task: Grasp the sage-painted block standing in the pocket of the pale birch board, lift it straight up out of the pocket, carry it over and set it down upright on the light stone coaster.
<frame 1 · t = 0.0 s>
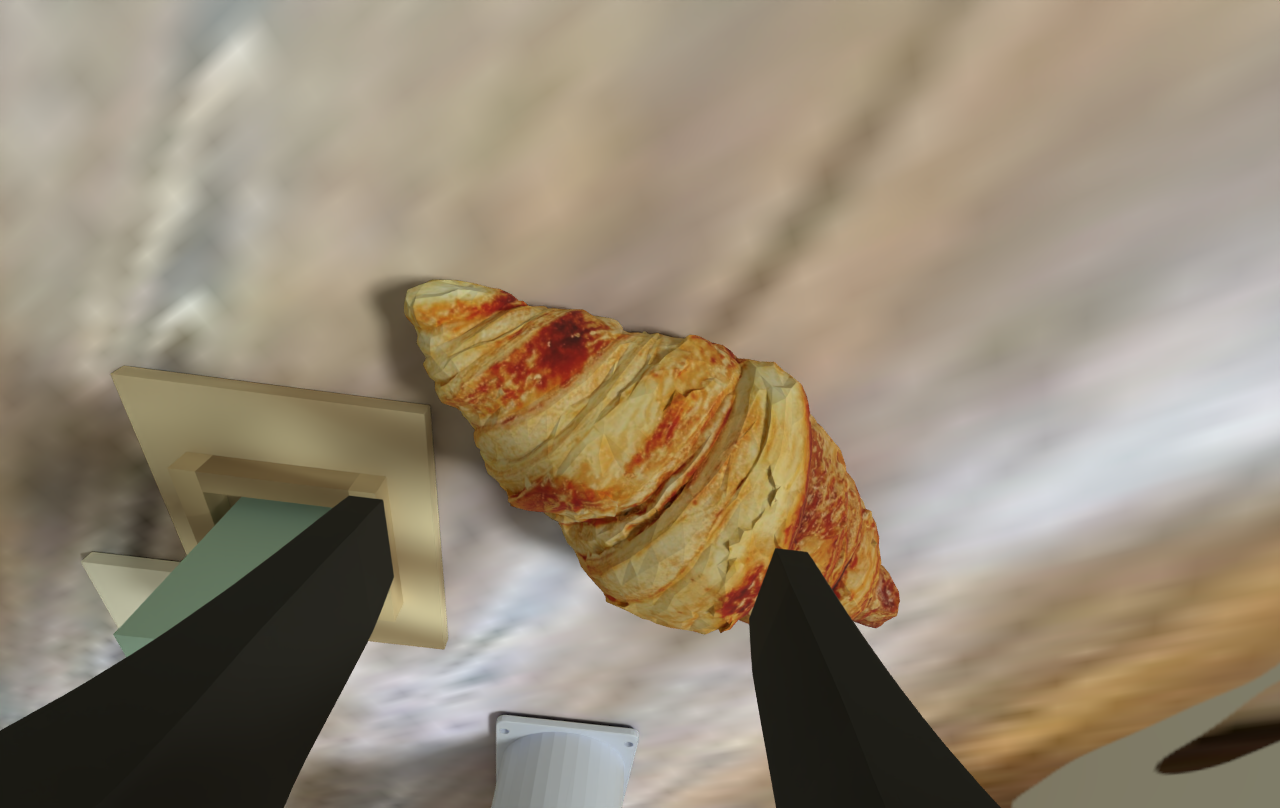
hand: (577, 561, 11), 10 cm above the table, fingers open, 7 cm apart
block: (304, 534, 24), point 1 cm above the table, touching pocket board
coaster: (205, 617, 28), on the table
croissant: (682, 431, 22), on the table
pocket board: (312, 524, 25), on the table
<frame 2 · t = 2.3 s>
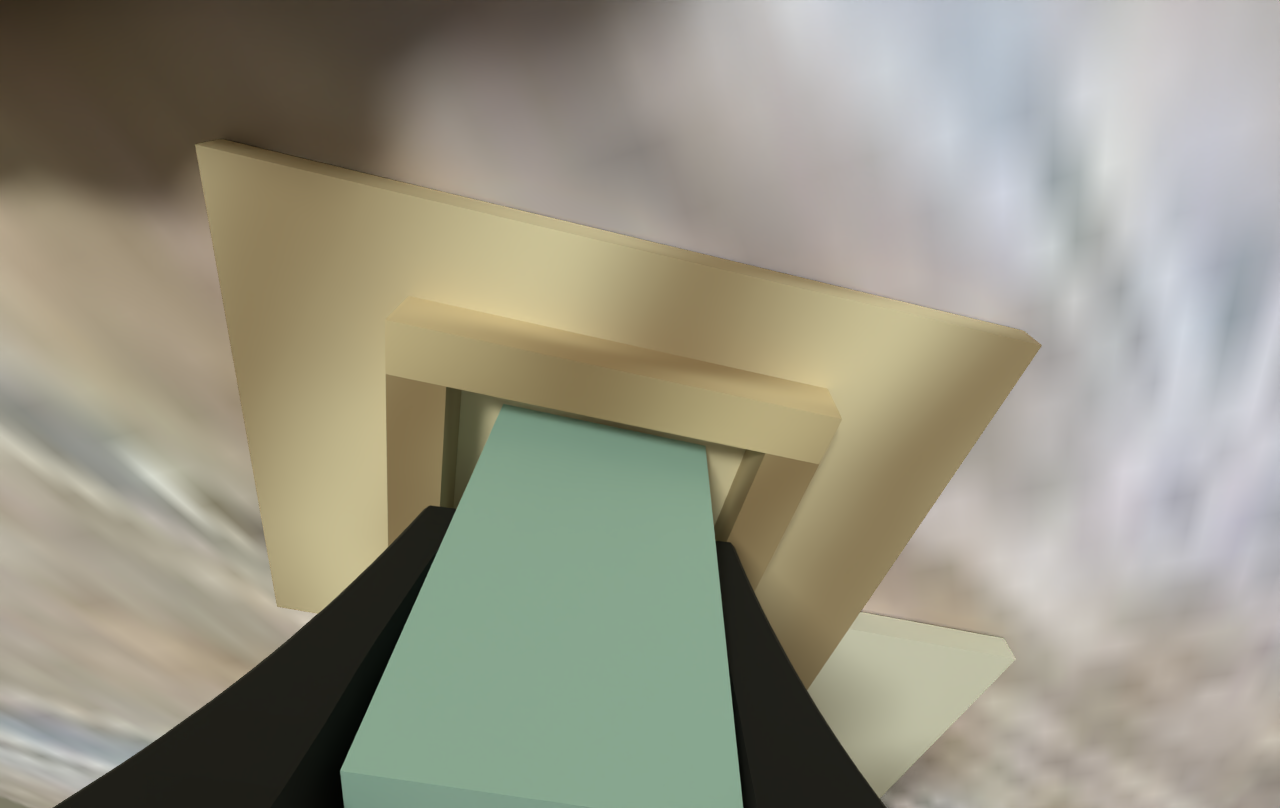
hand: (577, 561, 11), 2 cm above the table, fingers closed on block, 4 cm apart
block: (587, 500, 12), point 1 cm above the table, touching gripper, pocket board
coaster: (802, 697, 17), on the table
pocket board: (591, 482, 13), on the table
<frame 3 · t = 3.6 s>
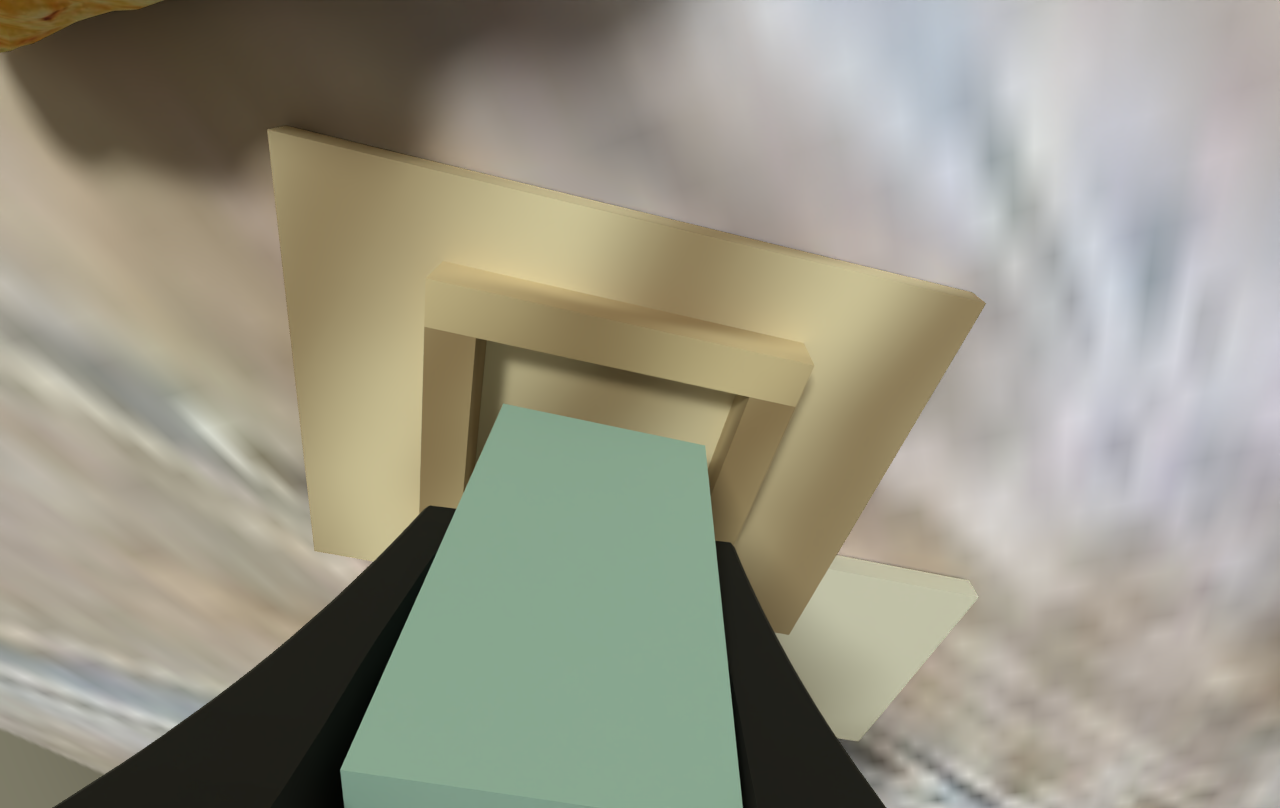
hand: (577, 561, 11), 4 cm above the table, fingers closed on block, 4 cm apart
block: (587, 500, 12), point 2 cm above the table, touching gripper
coaster: (789, 640, 18), on the table
pocket board: (597, 433, 14), on the table
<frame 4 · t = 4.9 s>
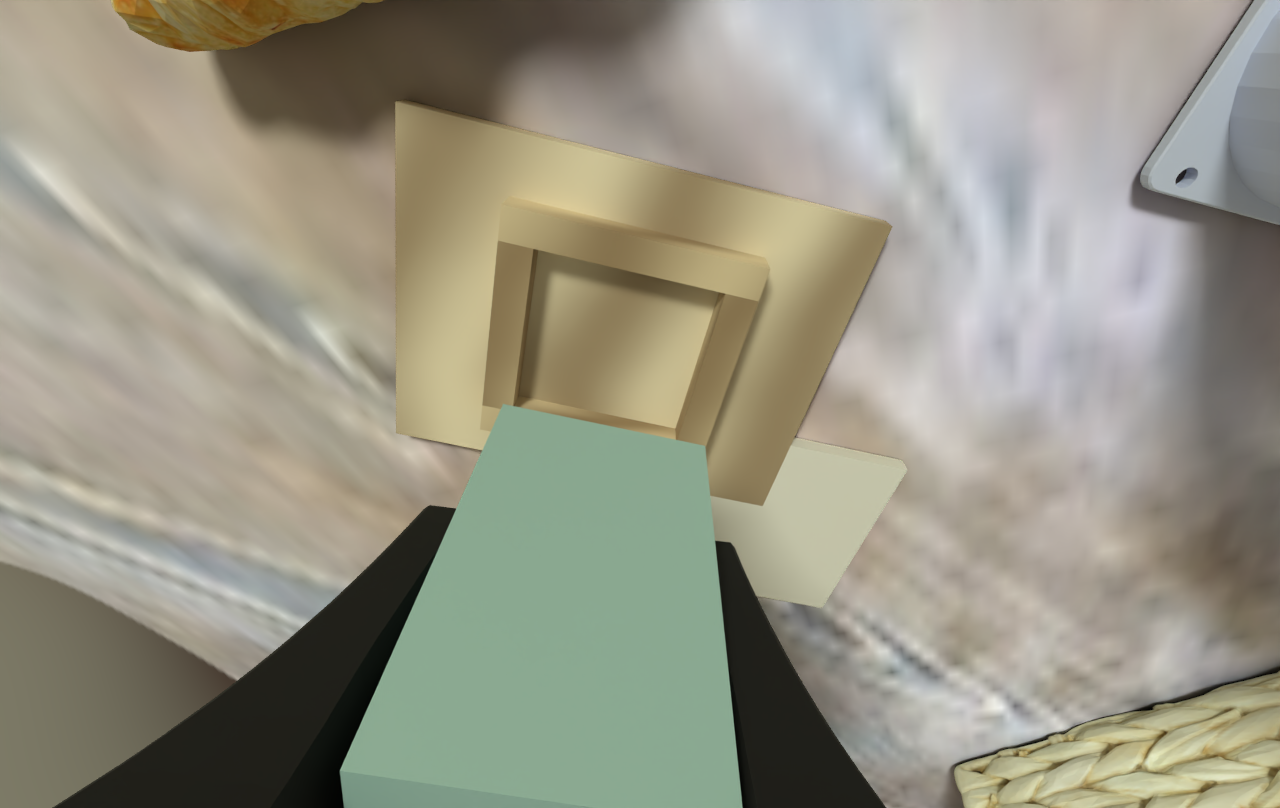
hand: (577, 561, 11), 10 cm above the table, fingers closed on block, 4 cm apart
block: (587, 500, 12), point 8 cm above the table, touching gripper
coaster: (763, 516, 23), on the table
pocket board: (615, 334, 19), on the table
storage basket: (1173, 750, 32), on the table
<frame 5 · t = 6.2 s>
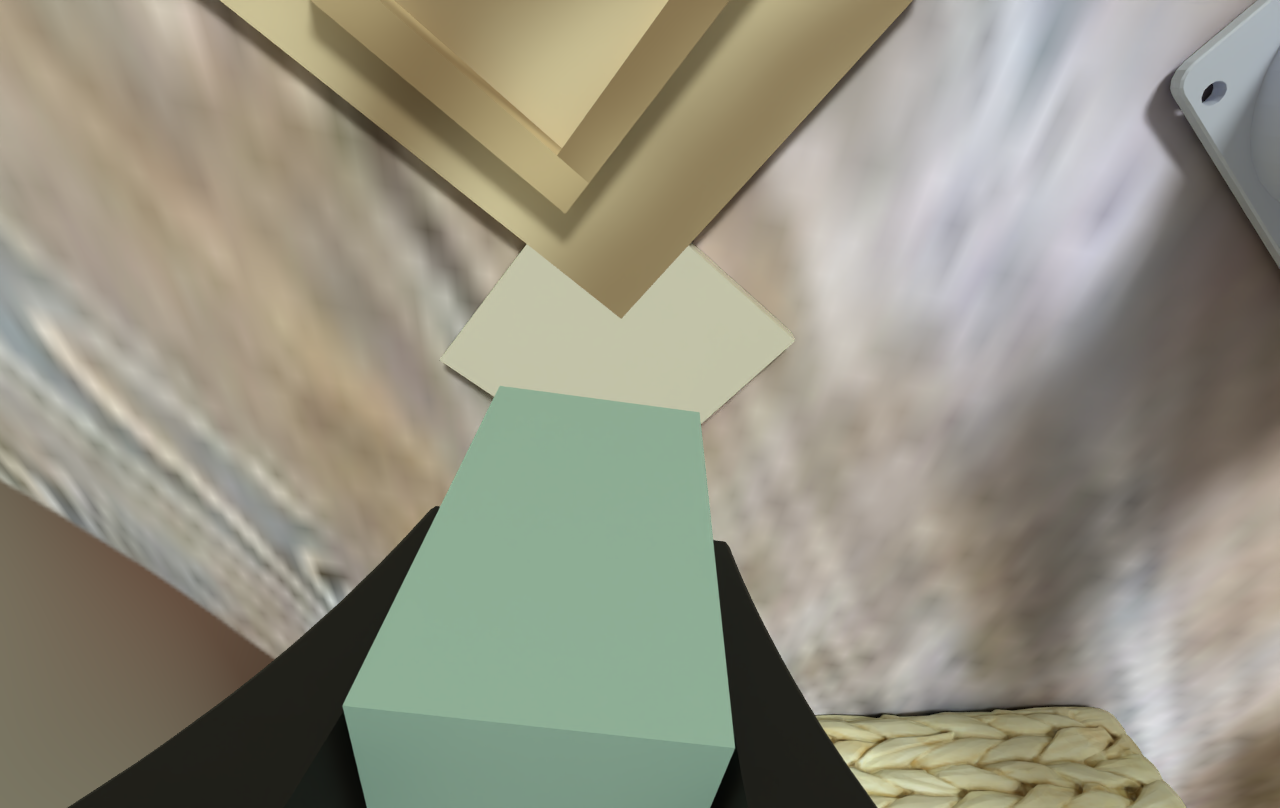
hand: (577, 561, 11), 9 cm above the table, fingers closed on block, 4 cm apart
block: (591, 477, 12), point 7 cm above the table, touching gripper
coaster: (614, 342, 19), on the table
storage basket: (868, 766, 33), on the table
when the fingers open (3 cm above the table, at t = 7.8 s): block stays where it is, resting on coaster, pocket board.
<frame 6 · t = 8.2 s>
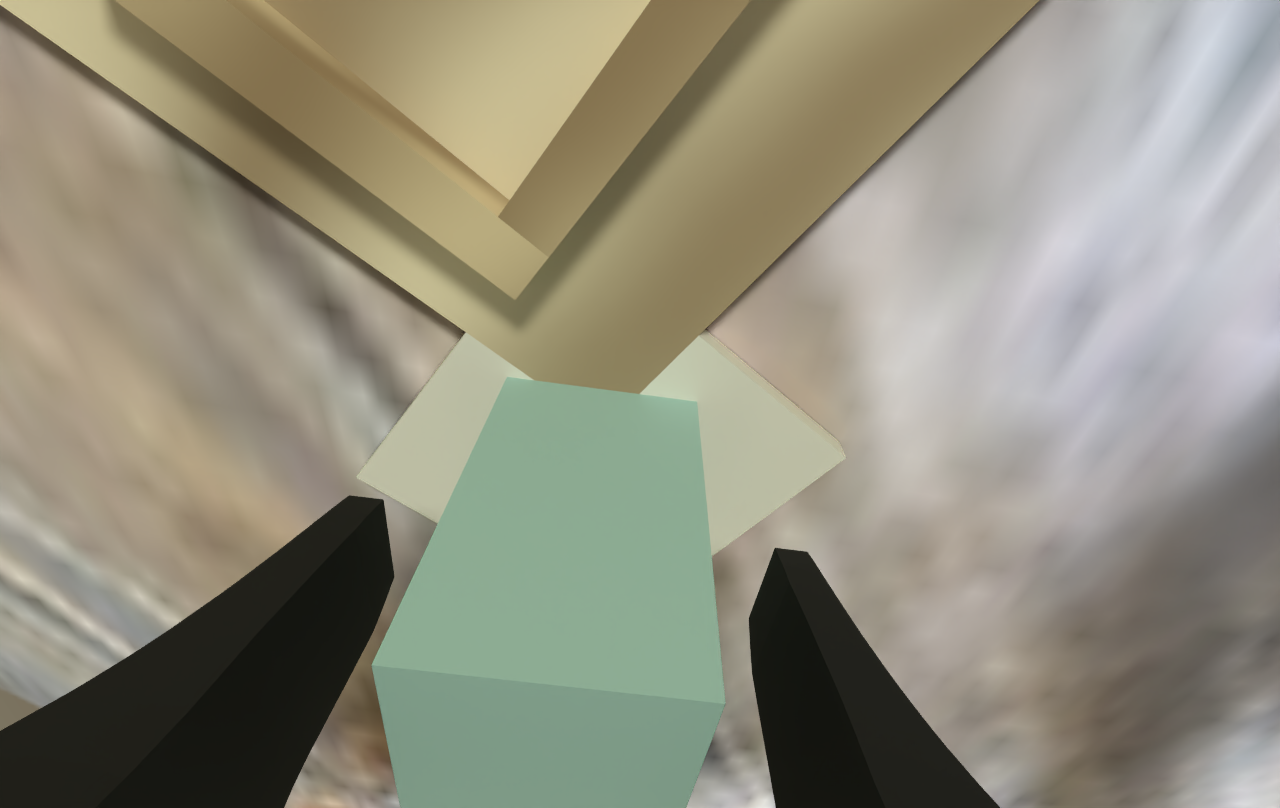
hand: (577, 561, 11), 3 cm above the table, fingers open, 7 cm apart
block: (594, 463, 13), point 1 cm above the table, touching coaster, pocket board
coaster: (596, 452, 14), on the table
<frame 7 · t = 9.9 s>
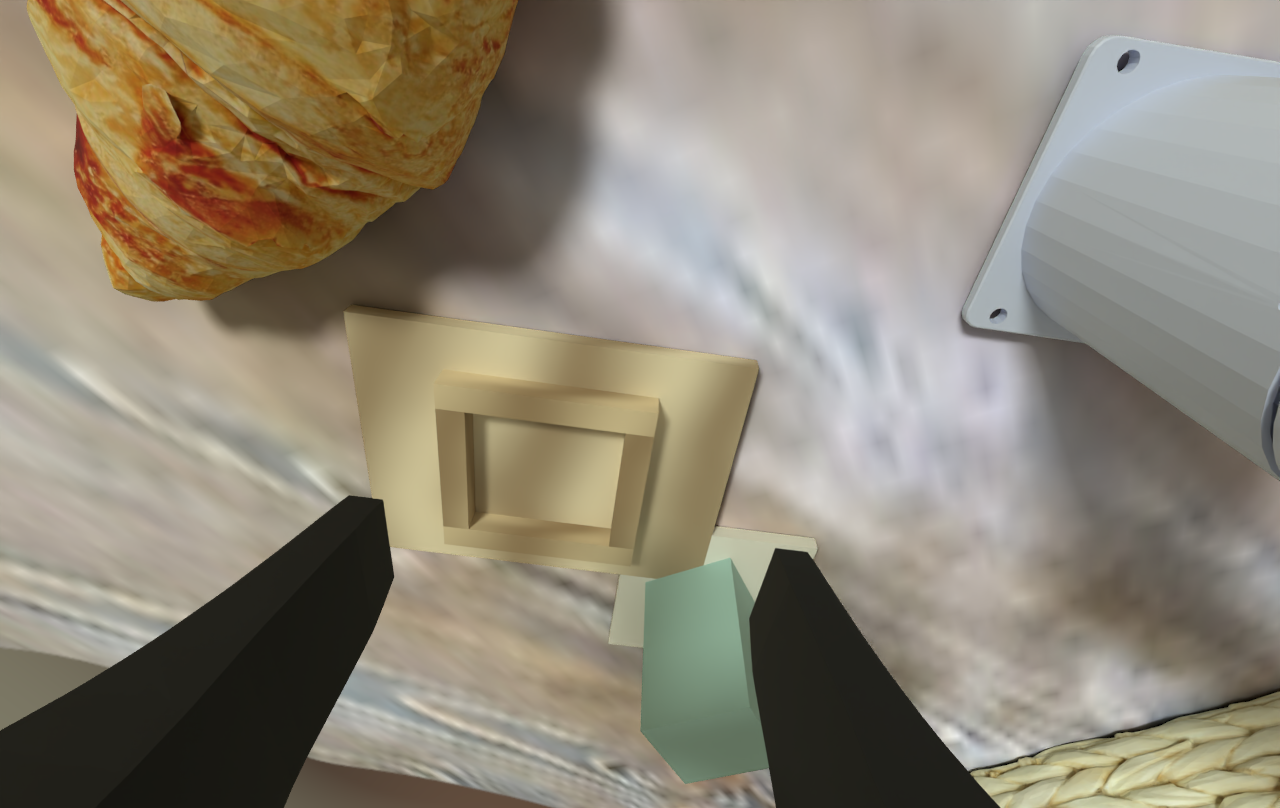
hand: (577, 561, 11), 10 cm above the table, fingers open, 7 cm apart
block: (704, 598, 26), point 1 cm above the table, touching coaster, pocket board
coaster: (704, 589, 26), on the table
pocket board: (549, 458, 23), on the table
storage basket: (1131, 773, 34), on the table
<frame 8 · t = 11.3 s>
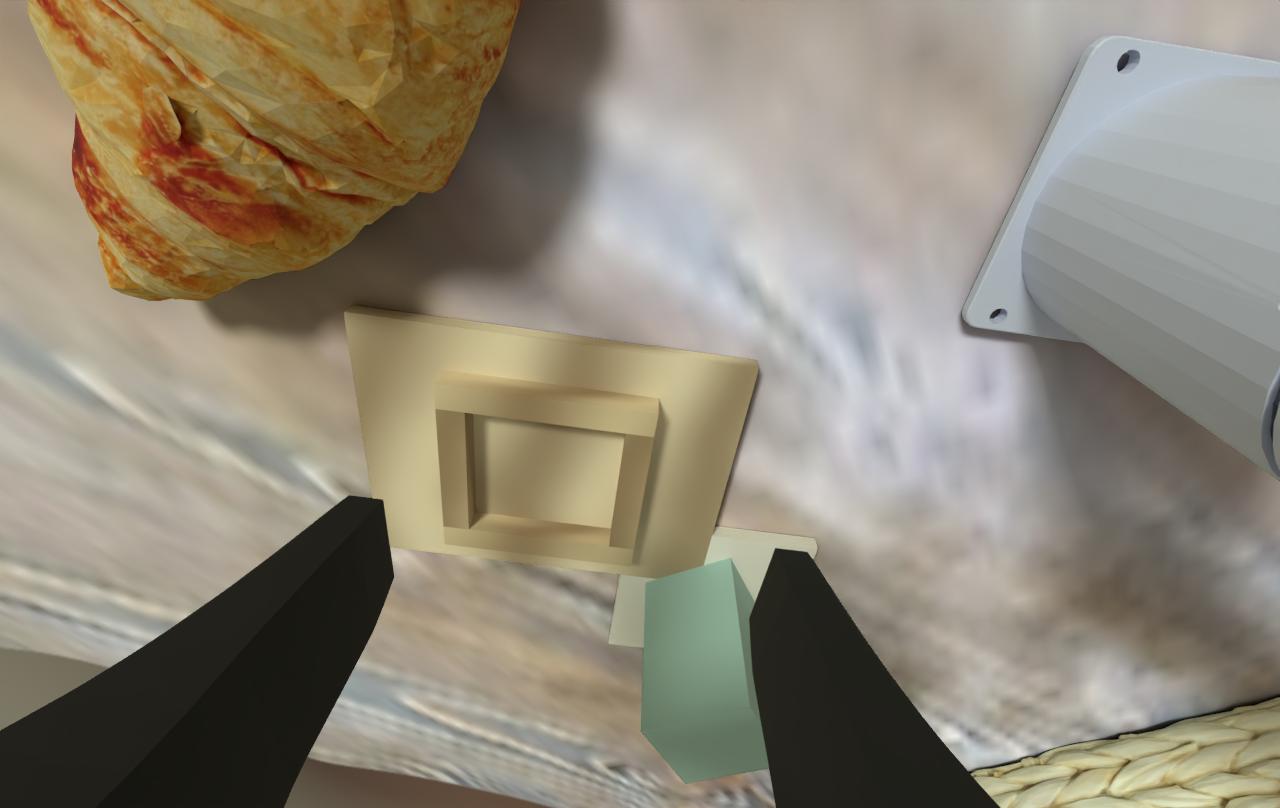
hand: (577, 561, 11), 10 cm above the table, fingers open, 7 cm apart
block: (704, 598, 26), point 1 cm above the table, touching coaster, pocket board
coaster: (704, 589, 26), on the table
pocket board: (549, 458, 23), on the table
storage basket: (1131, 776, 35), on the table
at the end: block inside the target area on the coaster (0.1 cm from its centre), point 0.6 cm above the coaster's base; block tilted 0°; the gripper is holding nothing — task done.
